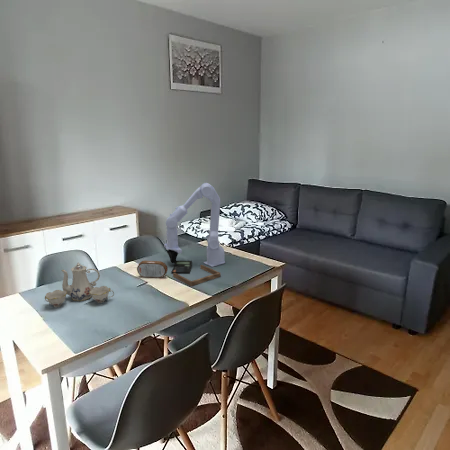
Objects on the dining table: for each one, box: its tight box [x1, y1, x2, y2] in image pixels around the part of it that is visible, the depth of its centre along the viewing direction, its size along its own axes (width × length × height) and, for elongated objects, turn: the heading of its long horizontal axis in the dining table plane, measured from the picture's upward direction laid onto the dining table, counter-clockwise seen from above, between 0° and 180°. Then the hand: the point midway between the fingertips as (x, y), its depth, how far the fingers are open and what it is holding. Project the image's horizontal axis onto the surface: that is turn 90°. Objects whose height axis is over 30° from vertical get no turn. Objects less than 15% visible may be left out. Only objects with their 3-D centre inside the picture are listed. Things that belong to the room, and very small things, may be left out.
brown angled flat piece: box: [172, 264, 222, 287], centre depth 184 cm, size 18×16×2 cm
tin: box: [136, 260, 168, 279], centre depth 183 cm, size 15×3×8 cm, turn 84°
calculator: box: [170, 260, 193, 275], centre depth 194 cm, size 9×12×3 cm
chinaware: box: [44, 262, 115, 308], centre depth 158 cm, size 28×17×17 cm, turn 107°
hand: (173, 262), depth 200 cm, fingers closed
